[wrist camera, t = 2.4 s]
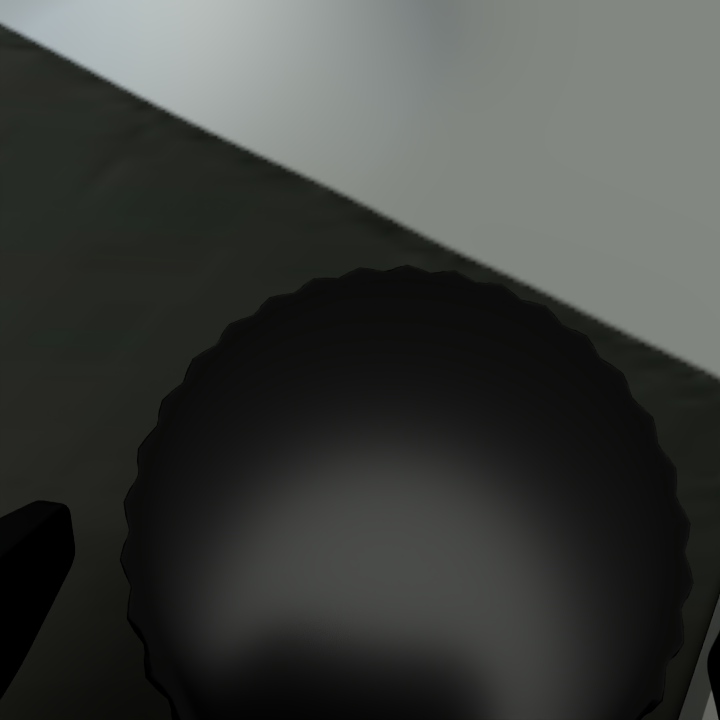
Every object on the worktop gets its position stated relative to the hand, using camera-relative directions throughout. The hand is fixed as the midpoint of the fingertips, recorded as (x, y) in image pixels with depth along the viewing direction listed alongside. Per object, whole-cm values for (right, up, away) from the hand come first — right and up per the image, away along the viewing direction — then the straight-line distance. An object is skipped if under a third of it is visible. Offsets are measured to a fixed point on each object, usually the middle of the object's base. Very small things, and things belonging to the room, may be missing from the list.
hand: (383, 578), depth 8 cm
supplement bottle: (0, -3, +8) cm, 8 cm away
